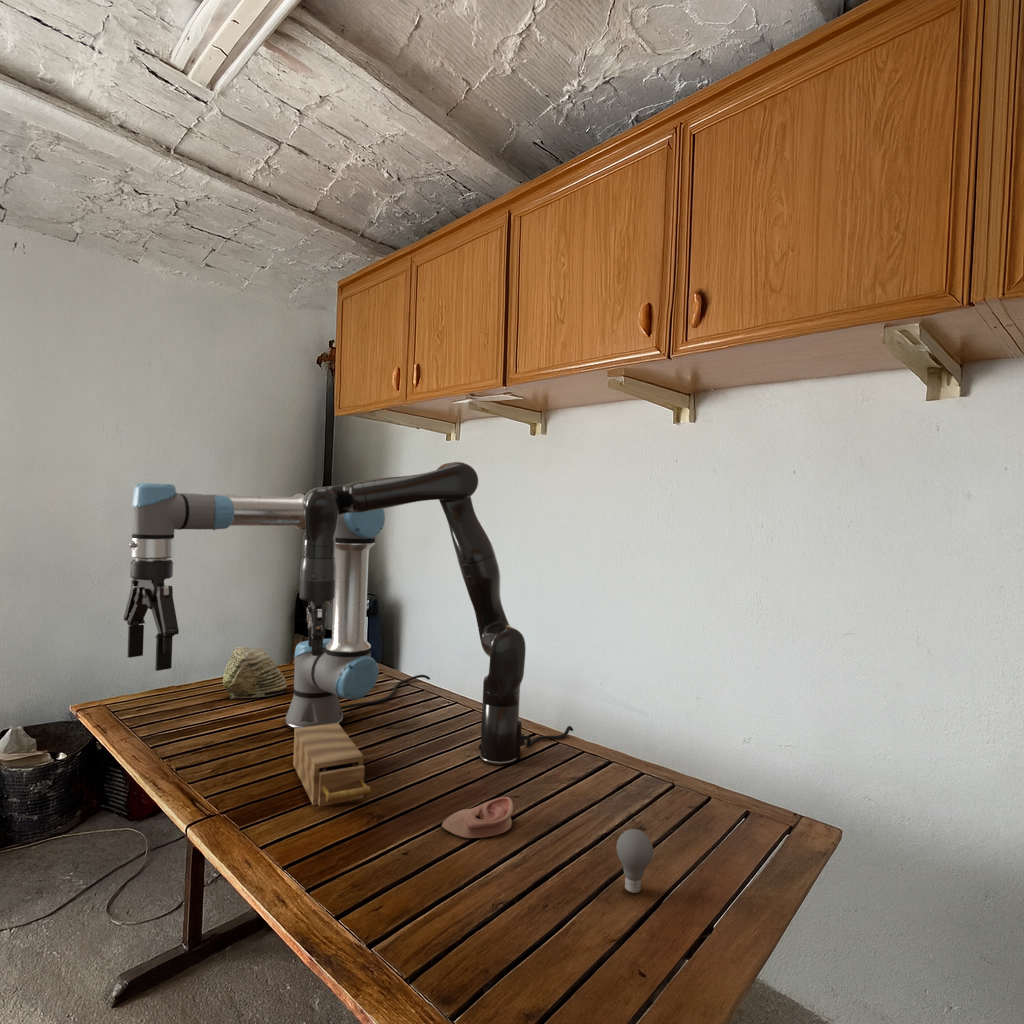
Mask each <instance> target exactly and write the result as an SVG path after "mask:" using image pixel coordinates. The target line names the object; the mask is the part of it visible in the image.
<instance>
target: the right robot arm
mask: <svg viewBox="0 0 1024 1024" xmlns="http://www.w3.org/2000/svg"><path fill="white" fill-rule="evenodd" d="M478 486H479V475H478V473H477V471H476V470H475V468H474V467H472V466H471V465H469V464H467V463H465V462H463V461H462V462H461V461H453V462H447V463H444V464H441V465H440V466H439V467H438V468H437V469H435V470H432V471H428V472H424V473H419V474H418V473H417V474H411V475H402V476H401V475H400V476H389V477H388V476H387V477H379V478H373V479H365V480H359V481H355V482H350V483H347V484H338V485H327V486H319V487H314V488H311V489H310V490H308V491H307V492H306V493H305V494H306V495H305V497H304V499H303V507H304V509H305V529H304V533H303V537H302V544H301V545H302V548H301V561H300V567H299V568H300V569H299V595H298V597H299V599H300V600H302V601H305V602H307V604H308V606H306V624H307V629H308V640H307V641H308V645H309V647H312V655H313V656H321V655H322V654H323V639H325V637H326V635H327V634H326V628H327V627H326V626H327V614H328V610H327V608H326V606H324V605H325V604H324V603H325V602H326V601H331V600H333V599H334V598H335V579H336V563H335V547H336V546H335V545H336V540H335V533H336V527H337V520H338V515H340V514H345V513H351V512H354V513H359V512H367V511H373V510H379V509H390V508H393V507H397V506H402V505H407V504H412V503H418V502H425V501H437V500H438V501H439V503H440V506H441V508H442V510H443V513H444V516H445V518H446V521H447V524H448V528H449V533H450V537H451V540H452V545H453V548H454V551H455V554H456V558H457V562H458V565H459V569H460V572H461V576H462V579H463V581H464V584H465V587H466V590H467V593H468V598H469V600H470V602H471V604H472V607H473V611H474V614H475V619H476V623H477V628H478V634H479V640H480V644H481V645H480V646H481V648H482V650H483V652H484V654H485V655H487V656H488V657H489V667H488V674H486V675H485V676H484V678H483V683H482V702H481V703H482V704H481V705H482V707H481V727H480V728H481V730H480V744H479V745H478V751H479V759H480V760H481V761H482V762H484V763H486V764H489V765H493V766H506V765H511V764H514V763H515V762H517V761H520V760H521V751H522V750H521V749H522V748H521V747H522V746H523V747H524V746H526V747H531V746H533V745H534V744H535V743H537V742H539V741H543V740H561V739H564V738H565V737H567V736H568V734H569V733H570V731H571V732H574V728H573V726H571V725H568V726H567V727H566V729H565V730H564V732H563V733H562V734H558V735H540V736H537V737H534V738H533V739H532V738H531V737H530V736H528V735H525V734H524V733H523V732H522V726H523V725H522V724H523V723H522V721H521V720H520V699H521V698H520V696H521V684H522V682H523V680H524V675H525V666H526V665H525V664H526V654H527V653H526V652H527V651H526V649H527V647H526V640H525V637H524V635H523V634H522V632H521V631H520V630H518V629H517V628H515V627H513V626H512V625H511V624H510V622H509V620H508V617H507V616H506V613H505V610H504V606H503V603H502V598H501V571H500V566H499V562H498V558H497V556H496V552H495V549H494V546H493V544H492V542H491V539H490V538H489V536H488V534H487V533H486V531H485V529H484V527H483V526H482V524H481V522H480V520H479V519H478V516H477V514H476V511H475V509H474V504H473V501H472V496H473V495H474V494H475V492H476V491H477V489H478ZM525 742H526V743H525Z"/></svg>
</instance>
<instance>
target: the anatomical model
mask: <svg viewBox="0 0 1024 1024" xmlns="http://www.w3.org/2000/svg"><path fill="white" fill-rule="evenodd" d="M513 812H514V803H513V800H512V799H511V798H510V797H508V796H501V797H497V798H493V799H491V800H487V801H485V802H483V803H481V804H479V805H477V806H474V807H472V808H464V809H461V810H458V811H456V812H454V813H452V814H451V815H449V816H448V817H447V818H445V819H444V820H443V822H442V824H441V827H442V828H443V829H444V830H445V831H447V832H448V833H451V834H453V835H455V836H458V837H460V838H465V839H480V838H481V839H482V838H488V837H495V836H498V835H501V834H503V833H505V832H507V831H509V830H510V829H511V828H512V825H513V821H512V818H511V816H512V814H513Z"/></svg>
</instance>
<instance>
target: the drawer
mask: <svg viewBox="0 0 1024 1024" xmlns="http://www.w3.org/2000/svg"><path fill="white" fill-rule="evenodd" d="M365 768H366V767H365V766H364V764H363V765H360V766H356V763H355V762H354V763H348V764H342V765H336V766H330V767H324V768H319V791H318V792H319V796H318V807H325V806H329V805H335V804H340V803H346V802H350V801H356V800H360V799H364V796H365V795H370V794H371V786H370V785H367V784H366V782H365V770H366V769H365Z"/></svg>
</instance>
